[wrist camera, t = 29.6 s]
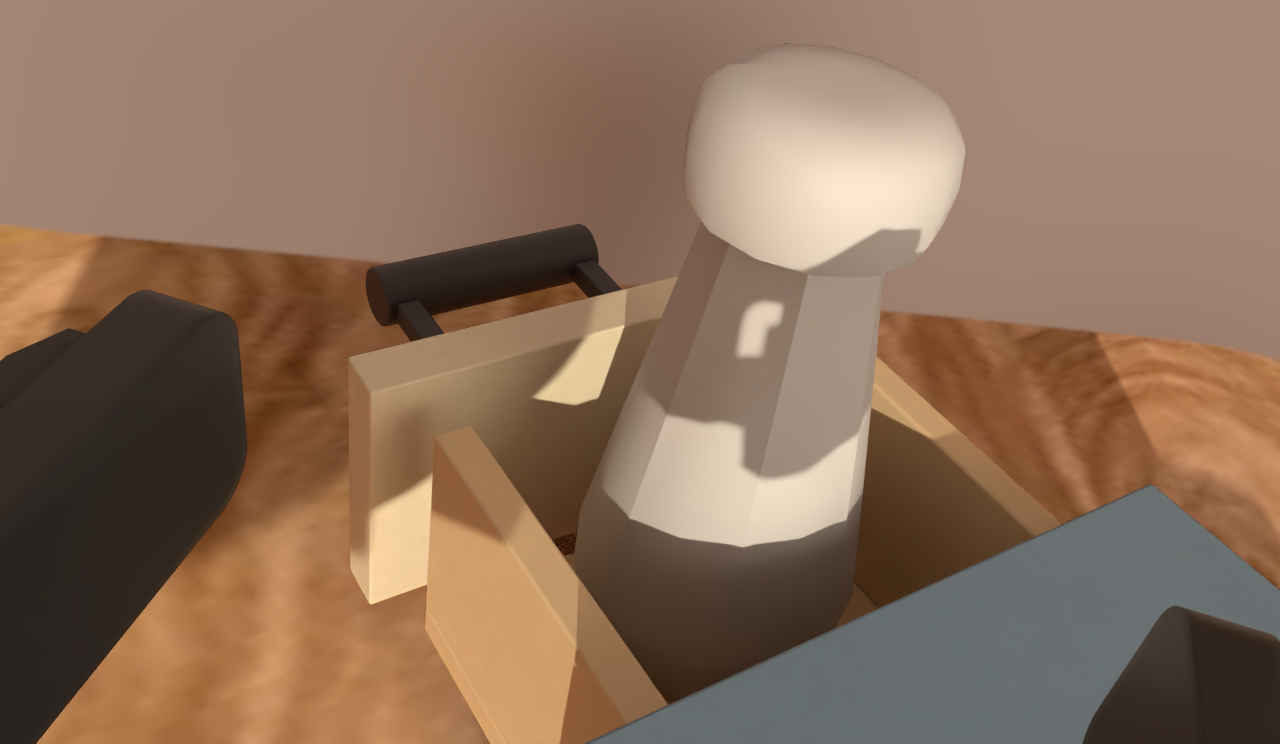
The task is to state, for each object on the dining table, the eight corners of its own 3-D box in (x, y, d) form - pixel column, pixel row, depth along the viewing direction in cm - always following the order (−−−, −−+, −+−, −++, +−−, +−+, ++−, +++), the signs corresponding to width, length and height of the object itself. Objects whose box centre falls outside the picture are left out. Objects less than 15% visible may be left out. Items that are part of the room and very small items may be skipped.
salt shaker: (717, 498, 29) (854, -15, 21) (877, 667, 26) (1113, 136, 18) (511, 585, 26) (579, 25, 18) (663, 790, 23) (830, 216, 15)
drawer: (265, 414, 31) (251, 206, 27) (635, 317, 36) (668, 133, 32) (666, 1154, 19) (746, 980, 15) (1121, 844, 25) (1266, 657, 21)
